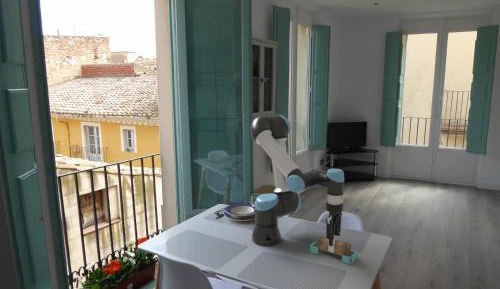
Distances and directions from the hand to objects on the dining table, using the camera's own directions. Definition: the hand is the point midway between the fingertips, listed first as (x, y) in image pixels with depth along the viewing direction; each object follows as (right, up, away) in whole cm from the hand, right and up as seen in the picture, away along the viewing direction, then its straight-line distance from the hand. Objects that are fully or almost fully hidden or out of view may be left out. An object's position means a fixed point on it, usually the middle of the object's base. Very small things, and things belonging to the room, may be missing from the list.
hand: (333, 250), depth 167 cm
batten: (0, -1, 0) cm, 1 cm away
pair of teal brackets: (0, -2, +1) cm, 2 cm away
